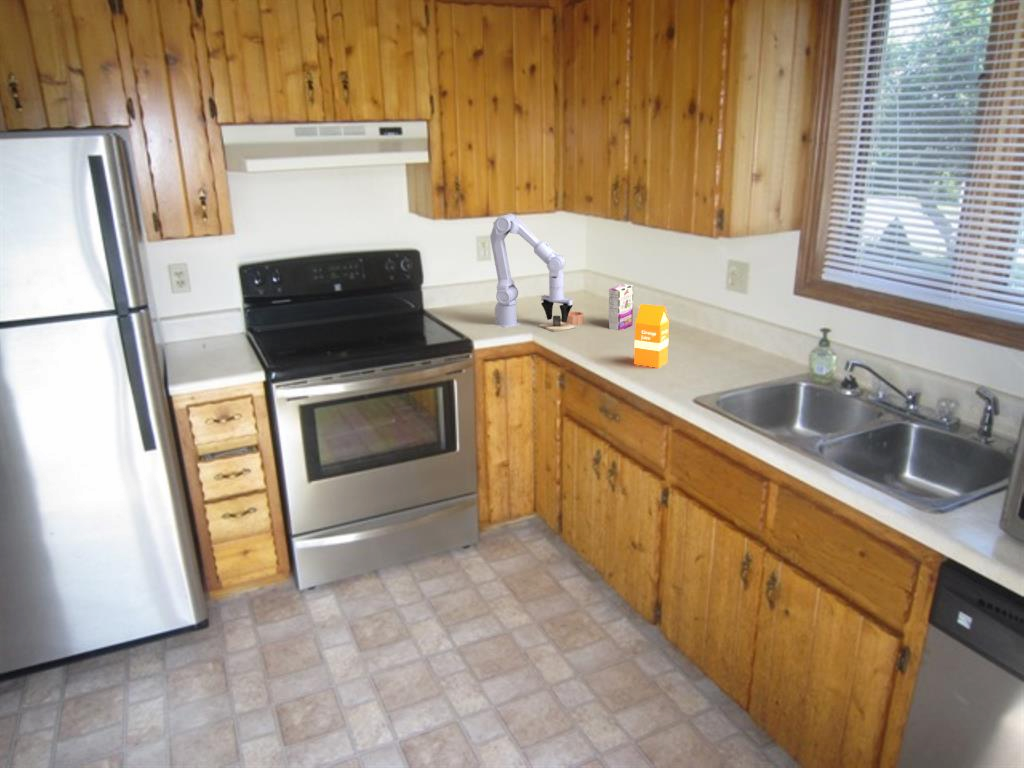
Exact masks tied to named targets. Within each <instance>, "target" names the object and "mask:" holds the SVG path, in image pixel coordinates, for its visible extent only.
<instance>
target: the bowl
mask: <svg viewBox="0 0 1024 768" xmlns="http://www.w3.org/2000/svg"><path fill="white" fill-rule="evenodd" d="M584 322H585V313H584V312H583V311H576V310H575V311H571V310H570V312H569V314H568V318H567V322H564V323H567V324H570V325H581V324H584Z"/></svg>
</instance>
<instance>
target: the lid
mask: <svg viewBox="0 0 1024 768" xmlns="http://www.w3.org/2000/svg"><path fill="white" fill-rule="evenodd" d="M538 326H539V327H538V328H540V327H542V328H541V329H543V328H545V329H547V330H546V331H548V330H550V331H549V332H551V331H553V332H552V333H556V332H555V331H558V332H561V331H560V330H563V331H567V330H566V329H568V330H572V329H571V328H574V327H575V325H574V324H567V323H562V320H561V315H552V322H547V323H541V324H539V325H538ZM545 329H544V330H545ZM574 329H575V328H574Z"/></svg>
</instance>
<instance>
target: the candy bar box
mask: <svg viewBox="0 0 1024 768" xmlns="http://www.w3.org/2000/svg"><path fill="white" fill-rule="evenodd" d="M633 301H634V285H633V284H625V283H622V284H620V285H617V286H614V287H611V288H609V290H608V307H609V308H608V329H609V330H614V331H621V330H623V329H626V328H630V327H631V326H633V321H634V320H633V319H634V318H633V317H634V315H633V313H634V312H633V308H634V307H633V305H634V304H633V303H634V302H633Z"/></svg>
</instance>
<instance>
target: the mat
mask: <svg viewBox="0 0 1024 768" xmlns="http://www.w3.org/2000/svg"><path fill="white" fill-rule="evenodd" d="M538 328H540V329H543V330H546V331H548V332H550V333H557V332H562V331H564V330H560V331H555V332H553V331H550V330H547V329H545V328H542V327H539V325H538ZM572 329H576V327H575V326H574V328H571V329H570V330H572ZM567 330H569V329H566V330H565V331H567Z"/></svg>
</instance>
